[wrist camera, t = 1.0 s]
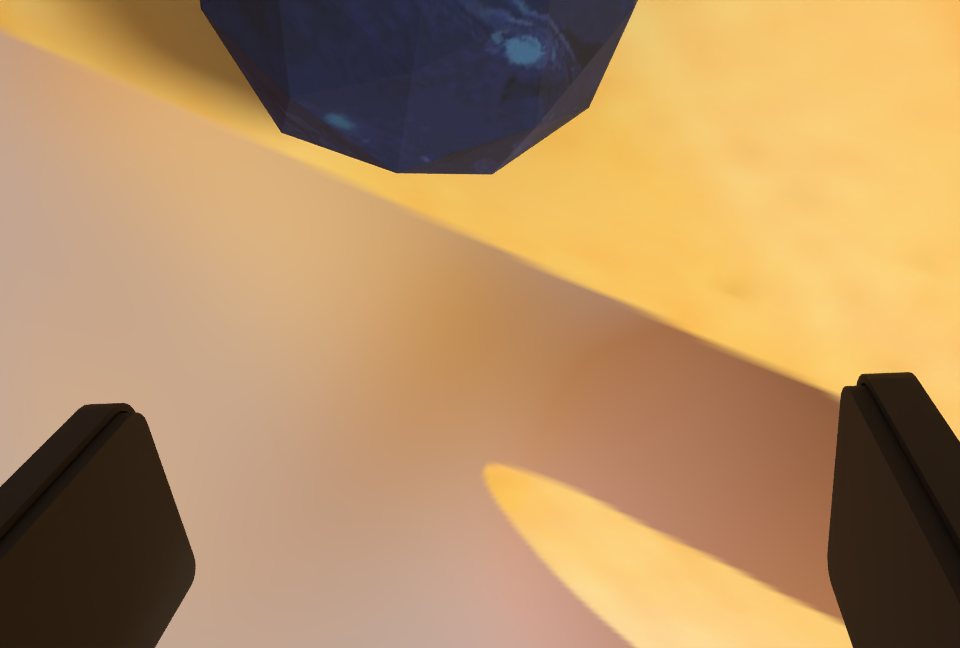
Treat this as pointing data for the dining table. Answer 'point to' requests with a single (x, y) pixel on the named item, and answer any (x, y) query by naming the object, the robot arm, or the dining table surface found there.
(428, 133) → the decorative orb
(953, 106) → the dining table surface
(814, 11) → the dining table surface
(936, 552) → the robot arm
